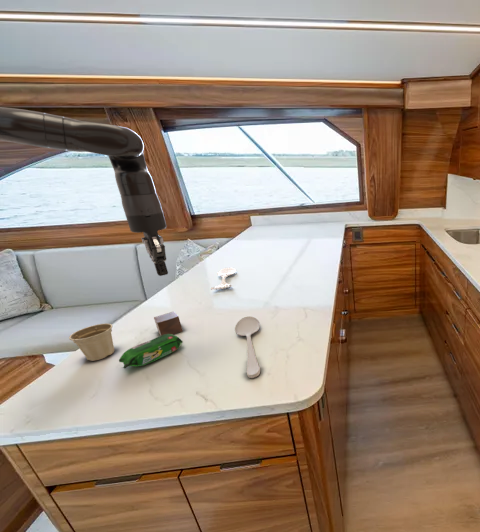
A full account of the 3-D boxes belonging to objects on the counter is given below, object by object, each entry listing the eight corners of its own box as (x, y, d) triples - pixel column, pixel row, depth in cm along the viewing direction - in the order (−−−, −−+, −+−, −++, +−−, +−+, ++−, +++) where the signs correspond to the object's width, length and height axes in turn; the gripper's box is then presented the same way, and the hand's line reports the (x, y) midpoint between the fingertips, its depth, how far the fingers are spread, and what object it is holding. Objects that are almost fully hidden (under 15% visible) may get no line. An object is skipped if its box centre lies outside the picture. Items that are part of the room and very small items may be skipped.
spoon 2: (211, 294, 135) (209, 287, 134) (219, 273, 163) (217, 267, 162) (233, 291, 139) (231, 284, 138) (237, 270, 167) (236, 264, 165)
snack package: (117, 368, 87) (111, 353, 85) (177, 341, 99) (173, 327, 97) (127, 376, 83) (121, 361, 81) (188, 347, 96) (184, 333, 94)
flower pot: (76, 357, 92) (65, 333, 89) (116, 343, 99) (107, 320, 96) (83, 368, 87) (72, 343, 84) (125, 352, 94) (116, 328, 91)
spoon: (235, 325, 108) (233, 319, 107) (259, 319, 112) (257, 313, 111) (239, 387, 80) (237, 379, 79) (270, 376, 83) (269, 369, 82)
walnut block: (162, 338, 101) (157, 322, 99) (158, 332, 105) (153, 317, 103) (182, 331, 106) (178, 316, 104) (178, 325, 109) (174, 311, 107)
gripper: (121, 211, 78) (141, 273, 84) (129, 216, 70) (150, 284, 76) (156, 208, 84) (173, 266, 89) (167, 212, 75) (185, 276, 81)
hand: (163, 274), depth 82 cm, fingers closed
